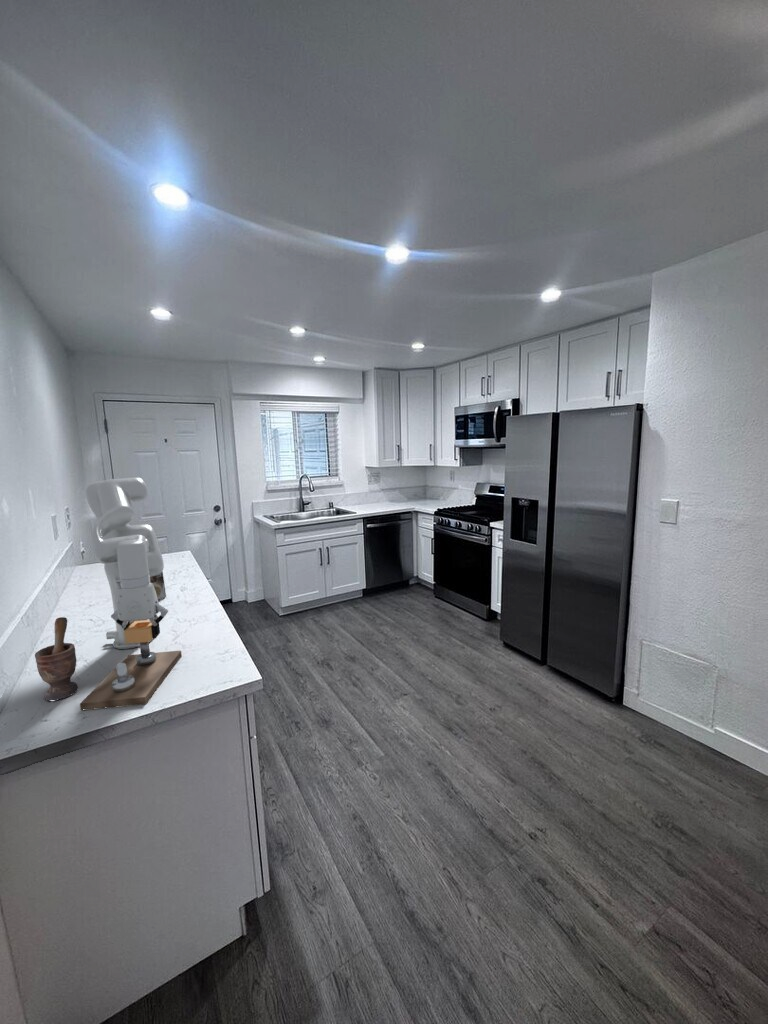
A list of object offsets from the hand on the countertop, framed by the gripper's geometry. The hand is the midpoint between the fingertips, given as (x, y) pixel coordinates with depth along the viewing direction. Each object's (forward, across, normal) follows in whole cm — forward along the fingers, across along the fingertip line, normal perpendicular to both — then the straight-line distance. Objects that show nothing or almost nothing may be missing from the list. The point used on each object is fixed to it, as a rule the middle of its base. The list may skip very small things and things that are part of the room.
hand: (143, 637), depth 128 cm
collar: (0, 0, 0) cm, 0 cm away
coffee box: (+12, -25, +65) cm, 71 cm away
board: (+10, 0, -8) cm, 12 cm away
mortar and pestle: (+10, -19, -10) cm, 23 cm away
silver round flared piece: (+8, 0, -15) cm, 16 cm away
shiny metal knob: (+8, 0, -1) cm, 8 cm away
